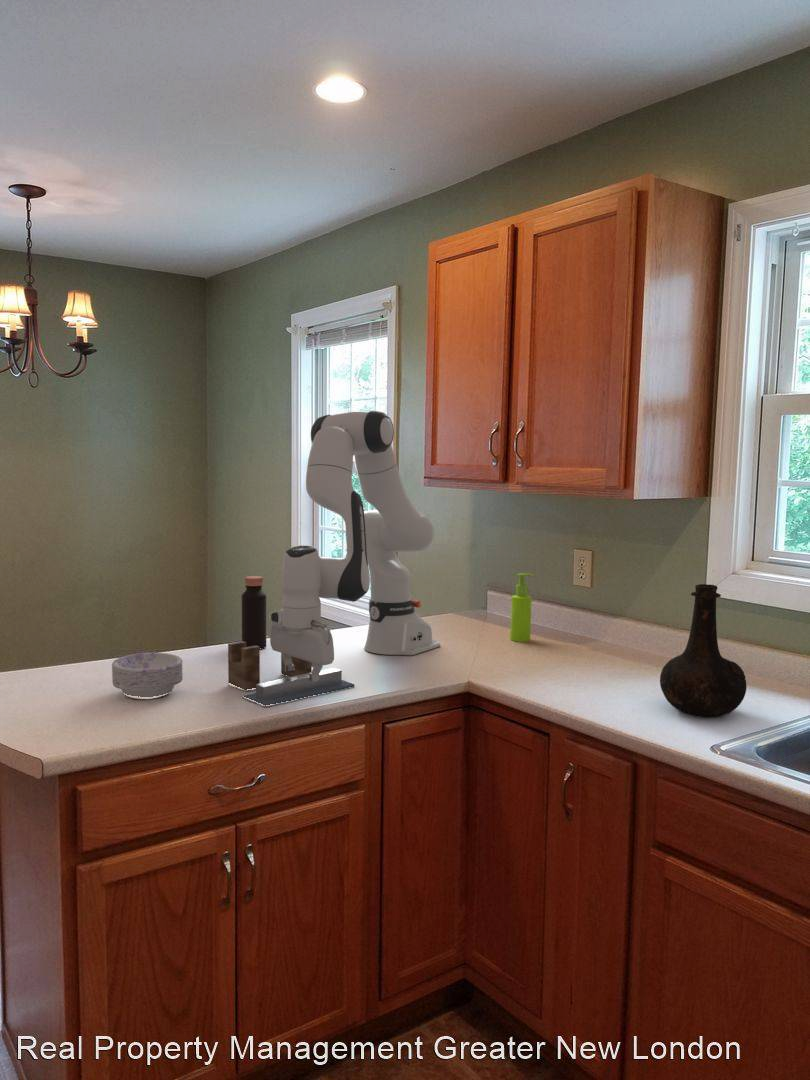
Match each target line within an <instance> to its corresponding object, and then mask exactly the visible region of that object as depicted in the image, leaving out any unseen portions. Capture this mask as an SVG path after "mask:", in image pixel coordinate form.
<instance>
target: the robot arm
mask: <svg viewBox="0 0 810 1080" xmlns="http://www.w3.org/2000/svg"><path fill="white" fill-rule="evenodd" d="M394 429H395V428H394V424H393V421H392V419H391V418H390V417H389V416H388V415H387V413H386V412H383V411H381V410H380V411H379V410H370V411H367V410H366V411H363V410H354V411H348V412H341V413H336V414H325V415H322V416H320V417H318V418H316V419H315V421H314V423H313V424H312V426H311V430H310V440H311V447H310V450H309V454H308V459H307V464H306V465H307V466H306V473H305V490H306V492H307V494H308V496H309V498H310V499H311V500H312V501H313V502H315V504H317V505H318V506H320V507H322V508H324V509H326V510H329V511H330V512H333V513H335V514H336V515H339V516H340V517H341V519H343V521H344V524H345V538H346V539H345V540H346V555H345V556H344V557H325V556H320V555H319V551H318V549H317V548H316V547H315V546H312V545H308V544H306V545H303V544H302V545H297V546H291V547H289V548H287V549H286V550H285V552H284V556H283V562H282V569H281V589H282V592H283V598H282V602H281V609H278V610H273V611H271V612H269V614H268V616H269V621H270V622H271V623H270V626H269V642H270V647H271V649H272V651H275V652H278V653H281V655H280V658H281V657H282V660H283V662H284V665H285V672H287V673H293V672H294V671H295V669H294V668H295V665H293V663H292V659H291V657H292V656H293V657H296V658H299V659H302V660H305V661H308V662H311V663H312V673H309V680H310V681H313V682H316V681H319V673H320V671H321V670H322V669H323V667H324V666H327V665H331V664H333V662H334V660H335V649H334V640H333V639H334V638H333V635H332V633H331V630H330V629H329V628H330V627H328V625H327V624H326V623H324V622H322V603H321V598H322V599H337V600H341V601H342V600H343V601H347V602H353V603H354V602H357V601H358V600H360V599H362V598H363V597H364V596H365V595H366V594H367V593H368V592H369V589H370V598H369V602H368V613H369V622H368V630H367V631H368V632H367V637H366V641H365V644H364V648H363V649H364V651H366V652H369V653H373V654H379V655H388V656H389V655H395V656H397V655H398V656H399V655H401V656H414V655H417V654H421V653H423V652H427V651H431V650H432V649H436V648H439V647H441V642H440V641H438V640H436V639H435V638H434V639H433V632H432V627H431V625H430V624H429V623H428V622H427V621H426V620H424V619H423V618H422V617H421V616H420V615H419V614H418V613H417V612H416V610H415V608H417V609H418V608H421V606H422V602H421V600H417V599H414V600H412V599H411V573H410V571H409V569H408V568H407V567H406V566H405V565H403V564H402V563H401V561H400V560H399V558H398V555H397V552H401V553H416V552H423V551H426V550H427V549H428V548H429V547H430V546H431V544H432V543H433V540H434V536H435V529H434V525H433V524H432V521H431V520H430V518H429V517H427V515H425V514H423V513H422V512H421V511H420V510H419V509H417V507H416V506H415V505H414V503H412V501H411V499H410V498H409V496H408V495H407V493H406V491H405V489H404V486H403V483H402V480H401V475H400V472H399V468H398V464H397V463H398V462H397V458H396V455H395V451H394V448H393V446H392V444H393V441H394V437H395V430H394ZM353 466H355V471H356V474H357V478H358V484H359V486H360V491H361V495H362V496H361V495H360V493H358V492H356V491H355V489H354V485H353V481H352V477H353V476H352V475H353ZM362 498H363V499H364V500H365V501H366V502H367V503H368V504H370V506H371V505H372V506H373V507H374V508H375V509H372V510H366V511H365V509H364V503H363V499H362Z"/></svg>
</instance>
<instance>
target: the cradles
mask: <svg viewBox="0 0 810 1080" xmlns="http://www.w3.org/2000/svg"><path fill="white" fill-rule="evenodd" d="M227 648H228V649H227V656H228V657H227V659H228V661H227V663H228V664H227V665H228V666H227V669H228V670H227V671H228V672H227V674H228V675H227V676H228V681H227V683H231V684H233V685H235V686H237V687H240V688H242V689H244V690H247V689H252V688H256V684H259V683H261V681H260V680H261V679H260V678H261V675H260V674H261V665H260V663H261V661H260V660H261V659H260V658H261V657H260V655H261V654H260V653H261V652H260V651H261V649H260V647H259V646H250V647H246V642H244V641H242V640H241V641H237V642H230V643H228V644H227ZM291 659H292V663H293V665H295V668H294V669H295V671H294V672H293V673H287V672H285V665H284V662H283V660H282V657H281V656H280V661H281V662H280V667H281V668H280V672H281V673H282V674H284V675H287V676H289V677H293V676H297V675H302V674H307V673H312V670H313V667H312V663H311V662H308V661H305V660H302V659H299V658H296V657H293V656H292V657H291ZM281 673H280V674H281ZM284 675H283V676H284ZM287 676H286V677H287Z"/></svg>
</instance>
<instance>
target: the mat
mask: <svg viewBox="0 0 810 1080" xmlns="http://www.w3.org/2000/svg"><path fill="white" fill-rule="evenodd" d="M354 686H355V687H356V685H355V683H352V682H350V681H346V680H343V679H342V683H338V684H334V685H329V686H325V687H320V688H316V689H312V690H307V691H303V692H298V693H294V694H290V695H285V696H281V697H276V698H272V699H268V700H261V699H259V698H256V692H253V693H249V694H244V695H242V697H243V696H244V697H246V698H249V699H251V700H254V701H256V702H258V703H261V704H263V705H265V706H266V705H270V704H276V703H281V702H286V701H291V700H295V699H300V698H304V697H308V696H313V695H317V696H319V695H318V694H321V695H323V694H322V693H326V694H328V693H327V692H330V693H333V692H332V691H334V692H337V691H336V690H339V691H342V690H341V689H343V690H346V689H345V688H347V689H350V688H349V687H351V688H354ZM313 697H314V696H313ZM304 699H305V698H304ZM300 700H301V699H300Z"/></svg>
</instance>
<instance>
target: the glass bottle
mask: <svg viewBox="0 0 810 1080" xmlns="http://www.w3.org/2000/svg"><path fill="white" fill-rule="evenodd" d="M694 587H695V590H694V591H693V592H691V593H690V596H692V597H694V605H693V611H692V612H693V613H692V620H691V625H690V631H689V637H688V640H687V644H686V646H685V649H684V650H683V652H682V653H681V654H679V655H677V656H675V657H673V658H671V659H669V661H667V662H666V663H665V665H663V667H662V669H661V672H660V677H659V685H660V689H661V692H662V693H663V696H664V698H665V699H666V701H667V702H668V703H669V704H670V705H671V706H672V707H673V708H675V709H676V710H677V711H678V712H679V711H680V713H682V714H686V715H689V716H691V717H699V718H706V719H707V718H708V719H709V718H710V719H711V718H720V717H724V716H726V715H729V714H730V713H733V712H734V711H735V710H736V709H737V708H738V707H739V706H740V705H741V704H742V703H743V700H744V699H745V696H746V693H747V679H746V675H745V671H744V670H743V669H742V667H741V666H740V665H739V664H737V663H736V662H734V661H732V660H729V659H727V658H724V657H723V656H722V654H721V653H720V649H719V643H718V633H717V631H718V630H717V629H718V628H717V598H721V597H722V595H721V594H720V593H718V592H717V590H718V585H715V584H705V583H703V584H695V585H694Z"/></svg>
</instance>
